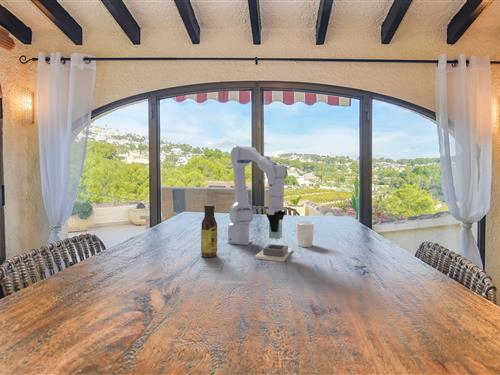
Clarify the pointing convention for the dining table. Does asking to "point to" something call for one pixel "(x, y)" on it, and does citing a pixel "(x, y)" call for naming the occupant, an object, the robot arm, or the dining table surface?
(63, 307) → the dining table surface
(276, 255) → the outlet plate
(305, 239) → the white cup
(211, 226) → the sauce bottle
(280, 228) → the block
